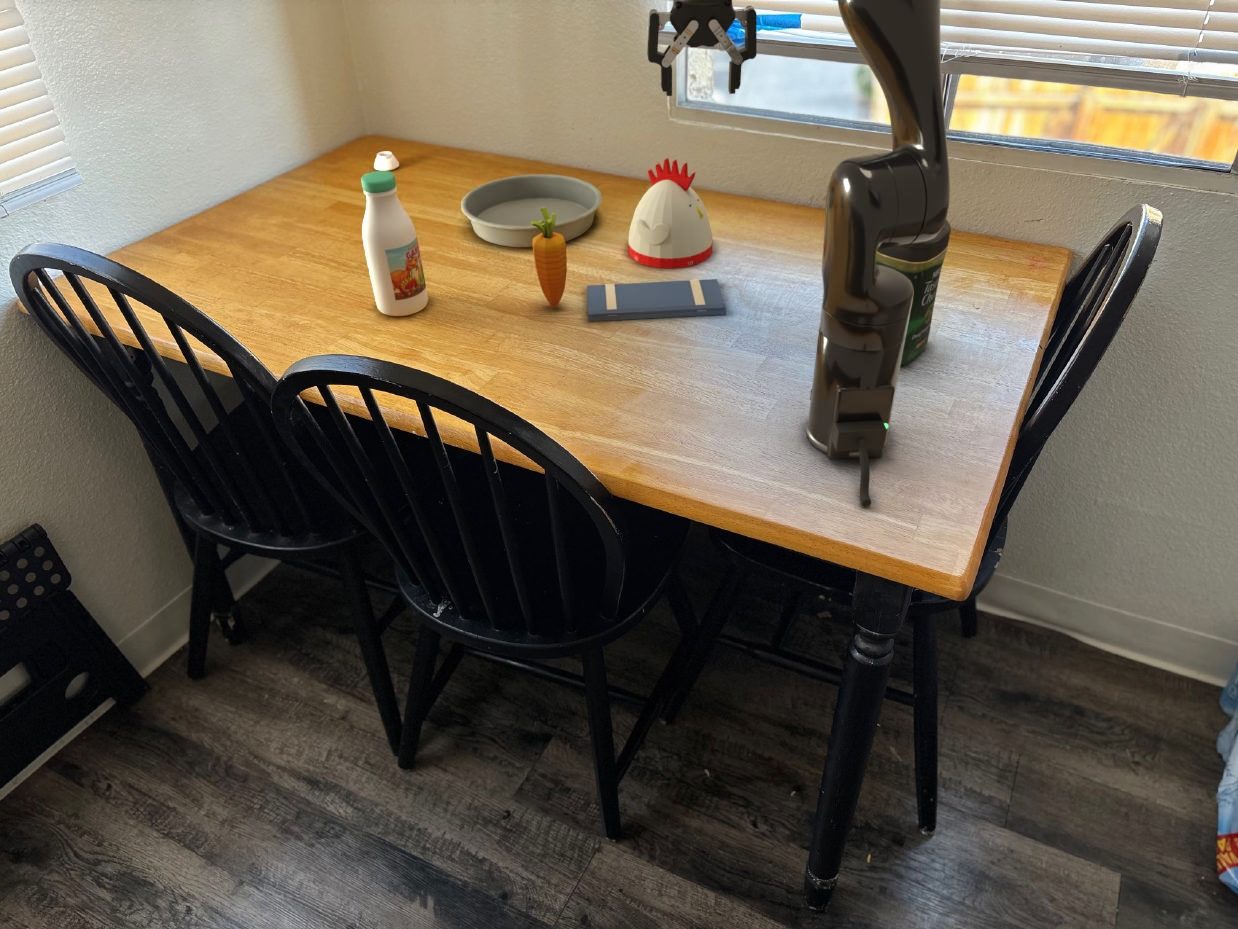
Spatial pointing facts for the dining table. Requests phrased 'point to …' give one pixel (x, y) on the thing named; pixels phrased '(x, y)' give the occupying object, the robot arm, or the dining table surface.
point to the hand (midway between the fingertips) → (700, 93)
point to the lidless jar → (385, 161)
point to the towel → (654, 300)
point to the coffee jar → (919, 284)
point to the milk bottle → (391, 248)
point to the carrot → (550, 258)
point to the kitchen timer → (670, 222)
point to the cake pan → (530, 207)
